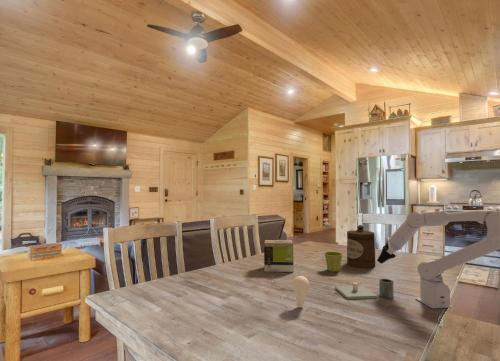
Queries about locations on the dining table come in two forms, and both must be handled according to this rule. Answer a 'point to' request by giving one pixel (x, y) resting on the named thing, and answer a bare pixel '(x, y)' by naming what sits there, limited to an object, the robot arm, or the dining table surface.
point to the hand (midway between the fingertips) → (381, 258)
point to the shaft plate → (355, 292)
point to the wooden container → (361, 248)
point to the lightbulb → (300, 289)
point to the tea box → (278, 256)
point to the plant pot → (333, 261)
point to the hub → (386, 288)
